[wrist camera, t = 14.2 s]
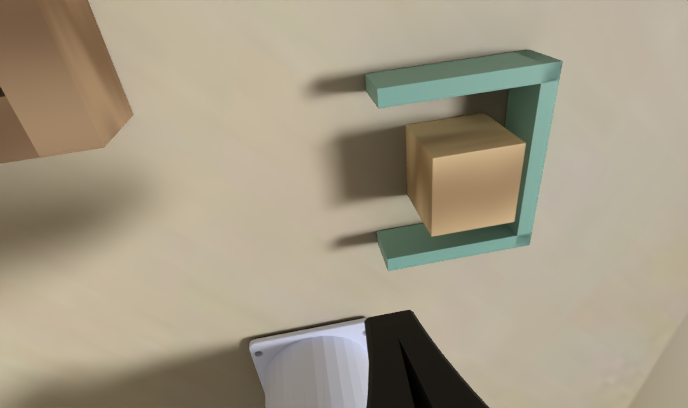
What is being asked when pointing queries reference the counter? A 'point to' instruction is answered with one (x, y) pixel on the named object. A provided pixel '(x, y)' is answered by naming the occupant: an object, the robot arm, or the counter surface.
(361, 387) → the robot arm
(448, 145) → the oak block
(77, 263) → the counter surface
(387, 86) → the u-shaped bracket
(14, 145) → the bored block
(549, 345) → the counter surface
